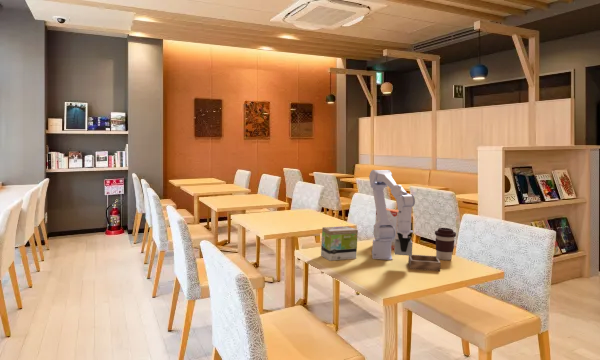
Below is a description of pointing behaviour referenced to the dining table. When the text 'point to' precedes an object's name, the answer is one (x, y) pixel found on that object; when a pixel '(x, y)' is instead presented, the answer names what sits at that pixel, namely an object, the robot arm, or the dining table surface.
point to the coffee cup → (444, 243)
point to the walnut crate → (424, 262)
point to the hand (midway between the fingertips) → (403, 250)
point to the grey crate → (398, 248)
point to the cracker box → (394, 219)
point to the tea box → (339, 243)
